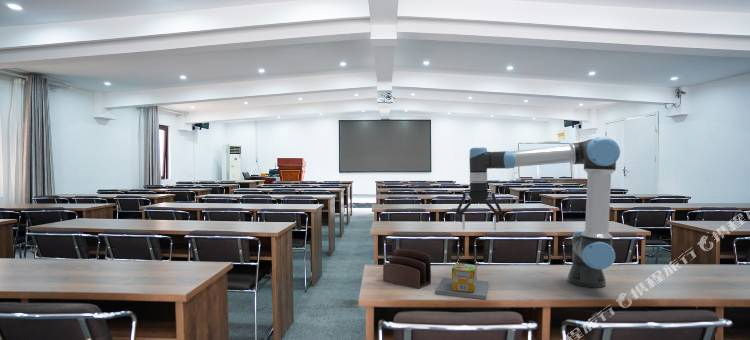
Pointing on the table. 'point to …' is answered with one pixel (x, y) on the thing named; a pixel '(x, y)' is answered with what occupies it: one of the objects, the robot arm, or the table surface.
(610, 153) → the robot arm
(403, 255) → the letter holder
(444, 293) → the mat
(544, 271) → the table surface
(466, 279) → the chalk box
